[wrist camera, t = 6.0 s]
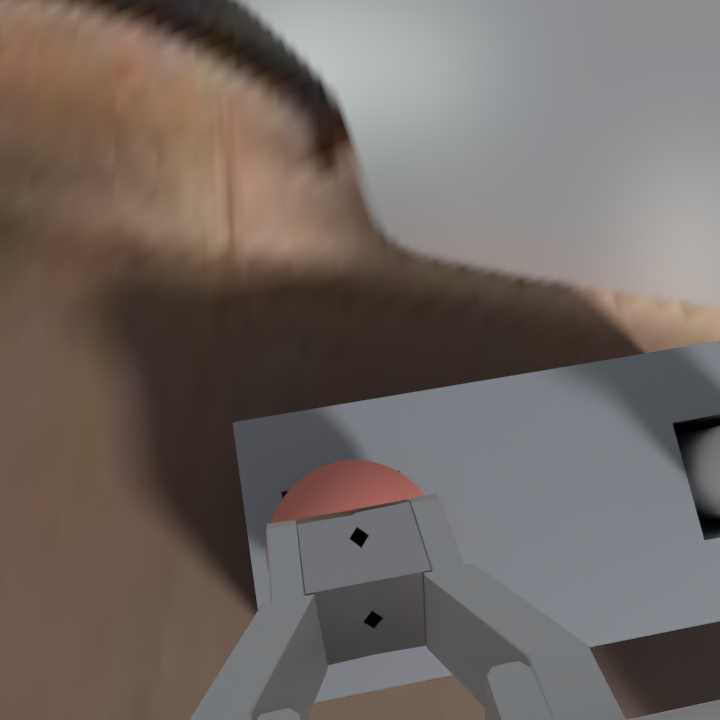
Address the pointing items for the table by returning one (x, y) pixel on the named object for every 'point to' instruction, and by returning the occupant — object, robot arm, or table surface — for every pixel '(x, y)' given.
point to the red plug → (344, 490)
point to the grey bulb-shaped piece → (703, 469)
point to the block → (528, 492)
